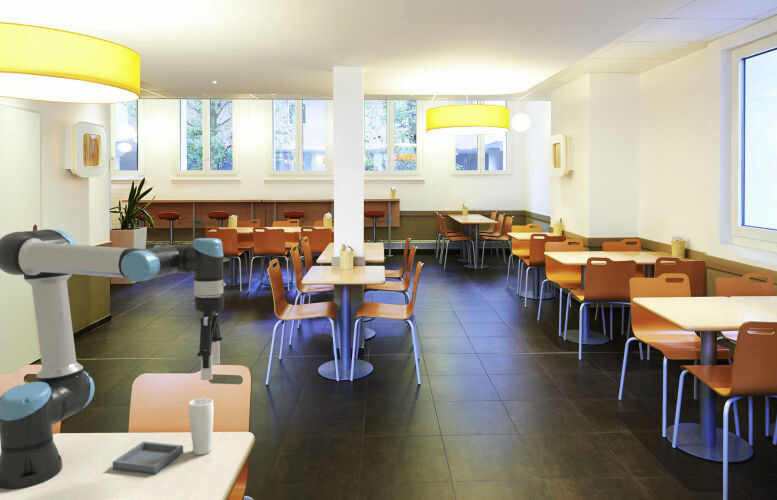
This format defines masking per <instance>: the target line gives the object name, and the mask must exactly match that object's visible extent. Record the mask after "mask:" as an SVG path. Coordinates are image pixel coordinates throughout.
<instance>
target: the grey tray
mask: <svg viewBox="0 0 777 500" xmlns="http://www.w3.org/2000/svg"><path fill="white" fill-rule="evenodd" d="M183 454H184V445H181V444H173V443H172V444H170V443H162V442H153V441H141V443H139V444H137V445H136V446H134V447H133V448H131V449H130V450H128V451H126V452H125V453H124V454H123V455H121V456H119V457H118V458H116V459H115V460H113V461H112V470H114V471H121V472H130V473H138V474H139V473H140V474H146V475H157V474H159V472H161V471H162V470H163V469H164V468H166V467H167V466H169V465H170V464H171V463H172V462H175V460H176V459H178V458H179V457H180V456H182V455H183Z"/></svg>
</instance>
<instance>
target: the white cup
mask: <svg viewBox="0 0 777 500" xmlns="http://www.w3.org/2000/svg"><path fill="white" fill-rule="evenodd" d="M214 407H215V406H214V400H213V398H210V397H198V398H194V399H192V400H190V401H189V403H188V417H189V418H188V419H189V420H188V421H189V426H190V434H191V441H192V452H193V454H195V455H198V456H203V455H207V454H209V453H211V452H212V450H213V433H214V432H213V431H214V418H215V417H214V415H215V414H214V411H215V409H214Z"/></svg>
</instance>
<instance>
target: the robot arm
mask: <svg viewBox="0 0 777 500" xmlns="http://www.w3.org/2000/svg"><path fill="white" fill-rule="evenodd" d="M192 242H193V244H192V245H181V244H180V245H179V244H178V245H176V244H160V245H159V244H158V245H157V244H156V245H154V246H153V247H152V248H134V247H133V248H130V247H119V246H118V247H117V246H115V247H114V246H98V245H84V244H77V242H76V241H75V240H74V238H73V237H72V236H71V235H69V233H67V232H65V231H63V230H60V229H46V228H45V229H38V230H26V231H15V232H14V231H13V232H11V233H10V232H9V233H8V234H5V235H4V236H2V237H1V238H0V270H1V271H3V272H5V273H7V274H9V275H13V276H23V279H24V281H25V282H26V283H28V284H30V285H31V292H32V300H33V309H34V316H35V323H36V324H35V325H36V331H37V338H38V346H39V347H38V348H39V352H40V353H39V355H40V356H39V357H40V362H41V369H40V370H39V371H38V372H37V373H36V380H37V381H31V382H26V383H24V384H19V385H16V386H13V387H11V388H9V389H8V390H6V391H4V392H3V393H2V394H1V395H0V488H3V489H20V488H21V489H22V488H26V487H30V486H34V485H39V484H40V483H43V482H46V481H48V480H50V479H51V478H53V477H55V476H57V475H58V474H59V473H60V472H61V471H62V469H63V460H62V456H61V454H60V453H59V450H58V448H57V446H56V444H55V442H54V437H53V436H54V432H53V430H54V429H53V426H54V425H56V424H57V423H60V422H61V421H63V420H66V419H67V418H69V417H70V416H71V417H72V416H73V415H75V414H77V413H79V412H81V411H82V410H83V409H85V408H86V407H87V406H88V405H90V403H91V401H92V400H93V397H94V395H95V383H94V380H93V378H92V376H89V375H90V374H89V373H88V372H86V371H85V370H84V365H82V364H80V363H79V362H78V361H77V355H76V347H75V340H74V331H73V329H74V328H73V323H72V315H71V307H70V306H71V305H70V298H69V289H68V280H69V279H70V278H71V277H72V275H83V276H97V277H111V278H125V279H128V280H130V281H131V282H147V281H150V280H153V279H157V278H160V277H164V276H167V275H173V274H193V279H194V280H193V287H194V288H193V289H194V291H193V293H194V295H195V297H194V310H196V311H197V312H202V313H203V314H202V317H200V333H199V347H198V348H199V351H198V353H197V357H200V379H201V381H210V380H211V381H212V380H213V365H214V366H215V365H220V364H221V361H220V360H221V359H220V355H221V354H220V353H221V351H220V341H221V342H222V340H223V336H221V330H220V329H221V328H220V320H219V311H221V310H223V309H224V308H225V297H224V295H223V293H224V287H225V286H227V284H226V283H225V282H224V250H223V242H222V240H221V239H219V238H214V237H207V238H205V237H202V238H201V237H200V238H195V239H194V240H193V241H192Z"/></svg>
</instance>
